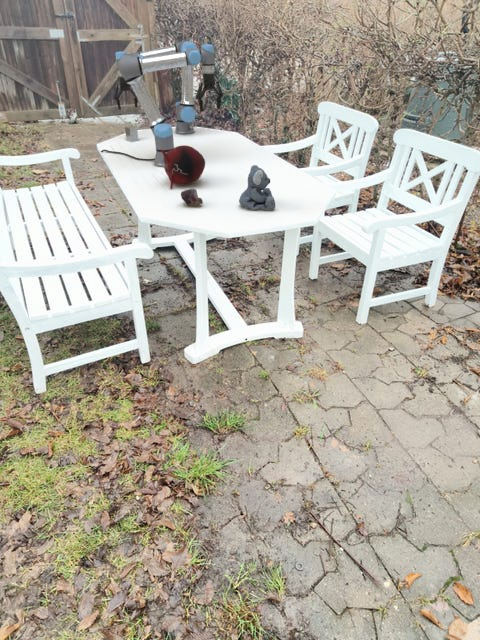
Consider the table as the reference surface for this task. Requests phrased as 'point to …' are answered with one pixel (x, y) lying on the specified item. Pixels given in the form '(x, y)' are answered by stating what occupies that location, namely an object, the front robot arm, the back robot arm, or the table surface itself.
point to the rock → (191, 197)
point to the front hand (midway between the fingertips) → (210, 109)
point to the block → (131, 133)
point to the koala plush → (257, 191)
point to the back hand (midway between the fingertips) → (128, 108)
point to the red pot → (183, 165)
